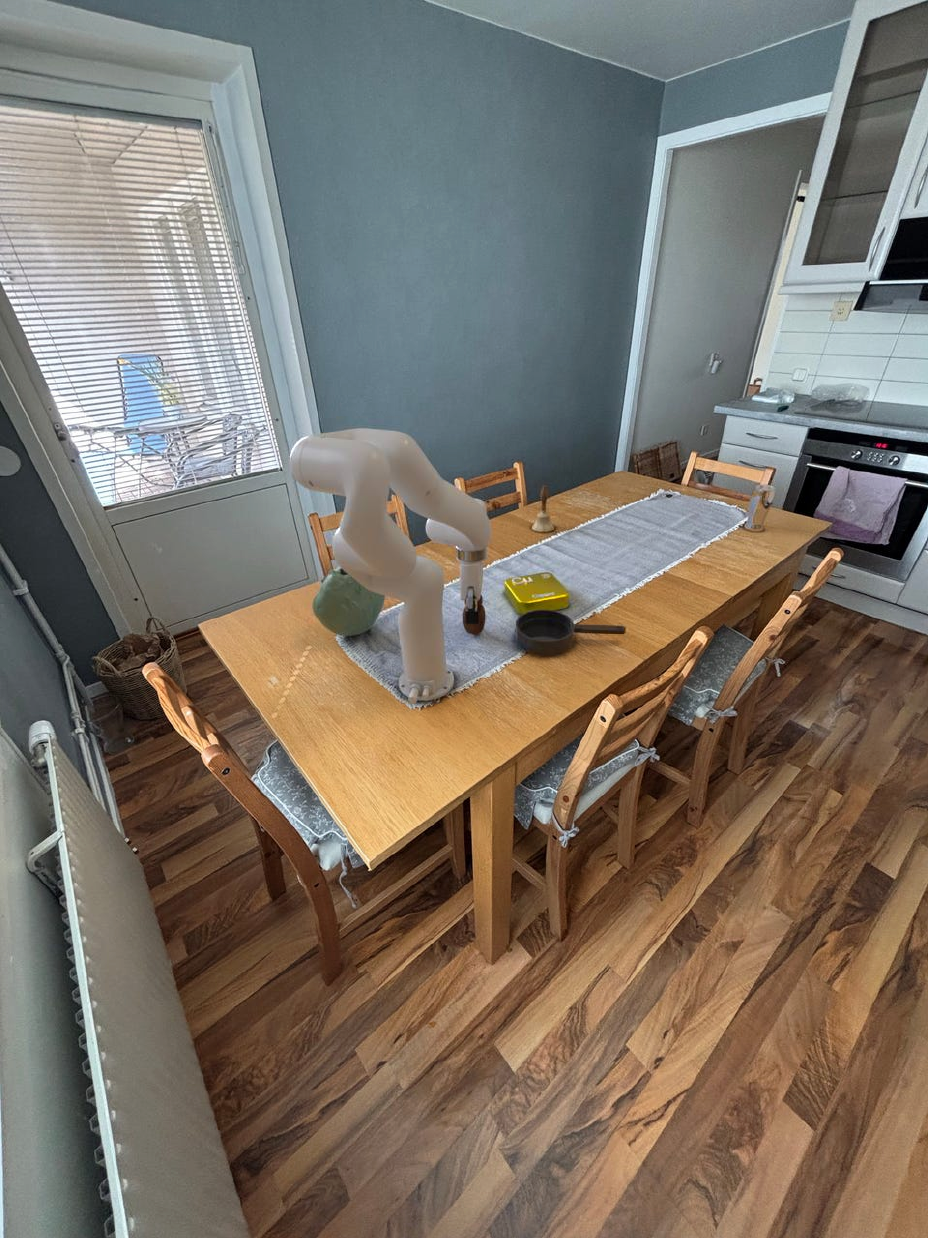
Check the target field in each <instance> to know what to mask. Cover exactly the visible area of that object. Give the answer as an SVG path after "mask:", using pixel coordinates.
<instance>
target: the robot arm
mask: <svg viewBox="0 0 928 1238" xmlns="http://www.w3.org/2000/svg"><path fill="white" fill-rule="evenodd" d="M288 460H289V461H288V462H289V463H288V464H289V469H290V472H291V474H292V477H293V479H294V480H295V481H296V483H298V484H299V485H300V486H301V487H303V488H304V489H307V490H310V491H313V492H318V493H325V494H329V495H330V494H331V495H336V496H341V497H346V498H345V504H344V509H343V514H342V516H341V519H340V523H339V527H338V528H337V529H336V531H335V533H334V535H333V538H332V543H331V547H332V553H333V554H332V555H333V557H334V559H335V562H336V563H337V565H338V567H339V566H340V567H341V568H342V569H343V570H344V571H345V572H346V573H348V574H349V575H350V576H351V577H352V578H354V579H355V580H356V581H357V582H359V583H360V584H361V585H362V586H364V587H365V588H366V589H368V590H370V591H372V592H374V593H378V594H381V595H385V597H388V598H393V599H395V600H398V601H401V602H402V603H404V606H403V608H402V609H401V610H400V612H399V614H398V616H397V628H398V634H399V635H398V636H399V642H400V650H401V658H402V665H403V672H402V673H401V674H400V676H399V678H398V687H399V690H400V692H401V693H402V694H403V695H404V696H405V697H407V702H408V703H409V704H412V705H414V704H416V703H417V701H421V702H427V701H433V700H437V699H440V698H442V697H444V696H446V695H447V694H448V693H450V691H451V690H452V689H453V687H454V683H455V676H454V673H453V671H452V670H451V669H450V668H449V667H448V666H447V657H446V644H445V631H444V619H443V600H444V591H445V584H446V583H445V582H446V575H445V571H444V568H443V567H442V566H441V565H440V563H438V562H437V561H436V560H434V559H432V558H430V557H427V556H423V555H418V554H417V550H416V548H415V545H414V543H413V542H412V540H411V539H410V538H409V537H408V535H406V534H405V532H404V531H403V530H402V528H400V526H399V525H398V524H397V523H396V522H395V520H393V519H392V517H391V515H390V514H389V512H388V499H389V495H390V489H391V490H392V492H394V493H395V494H396V495H397V497H398V498H399V499H400V500H401V502H403V504H404V505H405V506H406V507H407V508H408V509H409V510H410V511H412V512H413V513H415V514H417V515H418V516H421V517H424V518H426V519H427V520H426V523H425V533H426V536H427V537H428V539H430V540H431V542H434V543H436V544H440V545H445V546H450V547H455V559H456V561H457V562H458V563H459V599H460V600H461V601H464V600H465V598H466V605H465V606H466V610H465V611H466V623H467V624H479V609H477V604H478V600H479V599H480V596H481V595H482V589H483V582H484V562H485V561H487V559H488V557H489V556H488V545H489V543H490V542H491V538H492V534H493V533H492V532H493V531H492V530H493V529H492V524H491V521H490V518H489V516H488V509H487V508H488V507H487V503H486V502H484V500H482V499H480V498H474V497H472V496H471V495H469V494H467V493H466V492H465V491H463V490H461V489H460V488H458V487H456V486H455V485H454V484H453V483H451V482H449V481H447V480H445V479H444V478H442V477H441V475H440V473H439V472H438V471H437V469H436V468H435V467H434V466H433V464H432V462H430V459H429V458H428V456H427V455H426V454H425V452H424V451H423V450H422V449H421V447H420V446H419V444H418V443H417V442H416V440H415V439H414V438H413V437H411V436H410V435H409V434H407V433H404V432H402V431H397V430H390V429H380V428H379V429H377V428H368V427H366V428H365V427H361V428H359V427H358V428H351V429H345V430H344V429H343V430H338V431H331V432H323V433H315V434H309V435H307V436H304V437H302V438H300V439H299V440H298V441H297V442H296V443H295V444H294V446H293V447H292V449H291V451H290V454H289V459H288ZM473 596H475V597H476V598H473ZM473 601H475V605H473Z"/></svg>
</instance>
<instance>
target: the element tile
mask: <svg viewBox="0 0 928 1238" xmlns="http://www.w3.org/2000/svg"><path fill="white" fill-rule="evenodd" d="M504 595H505V596H506V598H507V599H508V601H509V602H510V603H511V605H512V606H513V608H514V609H515V611H516V612H517V613H518V614H519V615H520V616H521V615H522V614H524V613H526V612H529V611H533V610H540V609H542V610H553V611H559V610H564V609H567V608H568V607H569V605H570V591H569V590H568V589H567V588H566V587H565V586H564V585H563V584H562V582H561V581H559V579H558V578H557V577H556V576H555V575H554V574H553V573H551V572H549V571H544V572H539V573H532V574H526V575H521V576H520V575H519V576H515V577H508V578H506V579H505V580H504Z"/></svg>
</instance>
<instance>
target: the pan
mask: <svg viewBox="0 0 928 1238" xmlns="http://www.w3.org/2000/svg"><path fill="white" fill-rule="evenodd" d="M574 624H575V622H574V620H573V619H572V618H571V617H570V616H568V615H567V614H565V613H563V612H561V611H558V610H542V609H540V610H533V611H529V612H526V613H524V614H522V615H521V614H520V615H519V617H517V619H516V621H515V626H514V627H515V629H514V630H515V631H514V633H515V635H514V641H515V643H516V644H517V646H518V647H519V648H520V649H522V650H523V651H525V652H526V653H530V654H532V655H536V656H544V657H550V656H557V655H560V654H564V653H565V652H567V651H569V650H570V649H571V648H572V646H573V645H574V641H575V640H574V639H575V633H574V632H575V625H574Z"/></svg>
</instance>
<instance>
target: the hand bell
mask: <svg viewBox="0 0 928 1238" xmlns="http://www.w3.org/2000/svg"><path fill="white" fill-rule="evenodd" d="M548 497H549V492H548V486H547V485H542V488H541V491H540V501H541V508H540V512H539V513H537V515H536V520H535V522H534V523H533V524H532V526H531V529H532V530H533V531H534V532H536V533H549V532H552V531H553V530H555V527H554V524H552V522H551V517H550V514H549V513H548V512H547V501H548Z"/></svg>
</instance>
